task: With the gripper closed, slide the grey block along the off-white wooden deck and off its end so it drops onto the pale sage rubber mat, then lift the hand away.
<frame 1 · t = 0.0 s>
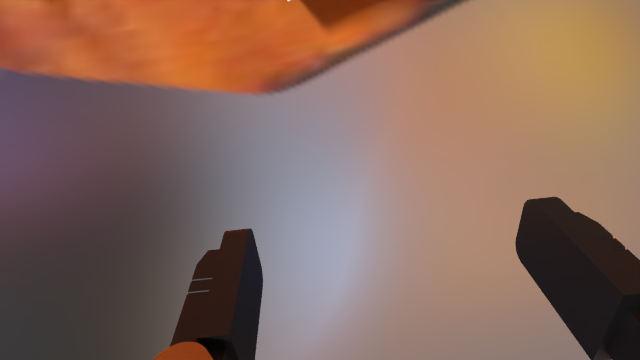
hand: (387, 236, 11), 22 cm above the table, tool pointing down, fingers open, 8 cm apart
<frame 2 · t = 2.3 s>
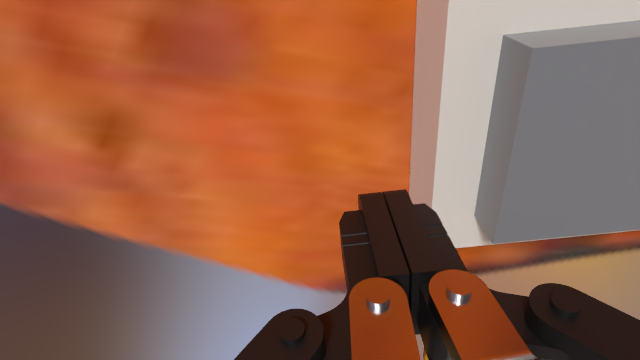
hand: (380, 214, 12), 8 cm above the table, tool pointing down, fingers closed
deck: (573, 89, 19), on the table
grey block: (585, 127, 15), point 4 cm above the table, touching deck
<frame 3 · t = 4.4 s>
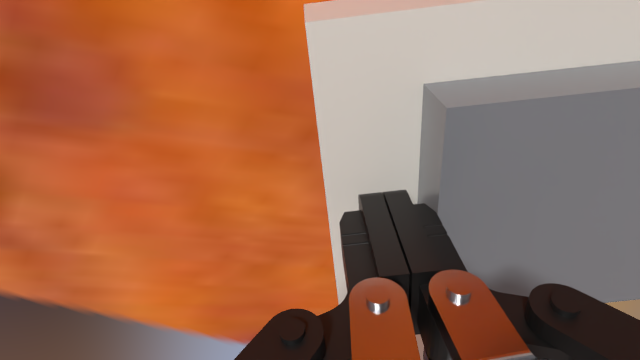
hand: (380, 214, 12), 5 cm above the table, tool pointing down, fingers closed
deck: (503, 131, 16), on the table
grey block: (532, 185, 13), point 4 cm above the table
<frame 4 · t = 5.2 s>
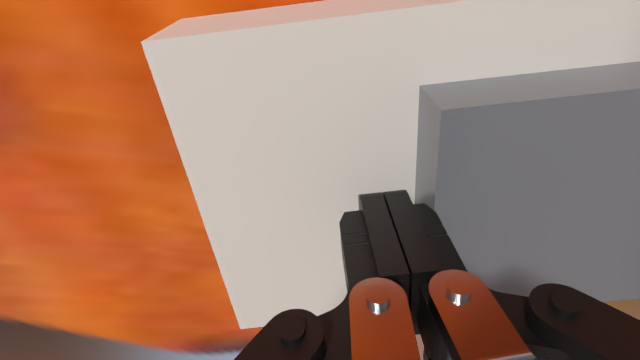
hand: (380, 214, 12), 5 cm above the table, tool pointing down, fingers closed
deck: (403, 142, 16), on the table
grey block: (529, 185, 13), point 4 cm above the table, touching deck, gripper
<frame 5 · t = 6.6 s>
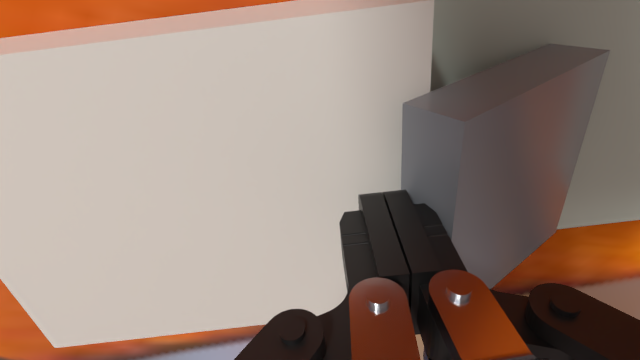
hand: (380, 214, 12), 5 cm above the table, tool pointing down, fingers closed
mat: (585, 116, 16), on the table
deck: (218, 162, 16), on the table
grey block: (473, 173, 14), point 3 cm above the table, tilted 34°, touching mat
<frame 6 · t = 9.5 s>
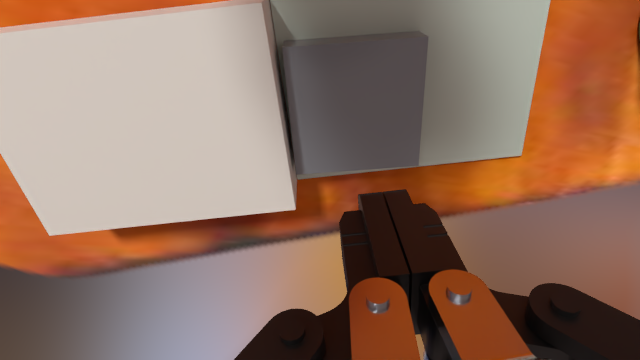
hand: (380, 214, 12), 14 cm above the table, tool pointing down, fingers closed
mat: (409, 83, 24), on the table
deck: (162, 112, 24), on the table
grey block: (352, 101, 24), resting on mat
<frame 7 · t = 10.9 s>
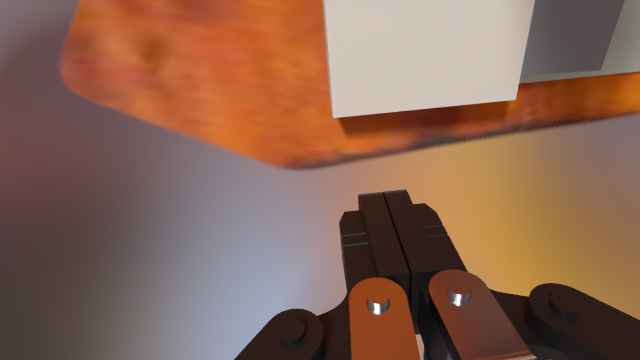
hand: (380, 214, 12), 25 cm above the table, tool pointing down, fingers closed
mat: (597, 8, 33), on the table
deck: (415, 28, 33), on the table
grey block: (556, 21, 33), resting on mat
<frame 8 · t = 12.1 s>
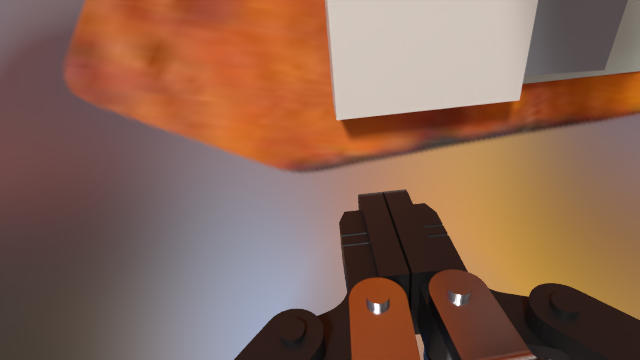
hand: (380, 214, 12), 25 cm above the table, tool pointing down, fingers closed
mat: (600, 8, 33), on the table
deck: (418, 29, 33), on the table
grey block: (559, 21, 33), resting on mat
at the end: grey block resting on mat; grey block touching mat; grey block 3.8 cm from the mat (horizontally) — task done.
